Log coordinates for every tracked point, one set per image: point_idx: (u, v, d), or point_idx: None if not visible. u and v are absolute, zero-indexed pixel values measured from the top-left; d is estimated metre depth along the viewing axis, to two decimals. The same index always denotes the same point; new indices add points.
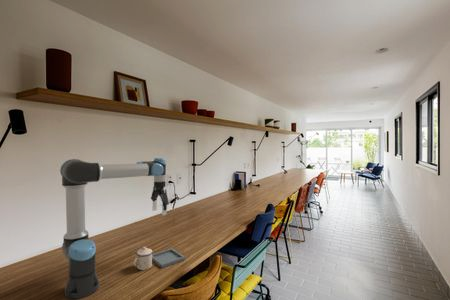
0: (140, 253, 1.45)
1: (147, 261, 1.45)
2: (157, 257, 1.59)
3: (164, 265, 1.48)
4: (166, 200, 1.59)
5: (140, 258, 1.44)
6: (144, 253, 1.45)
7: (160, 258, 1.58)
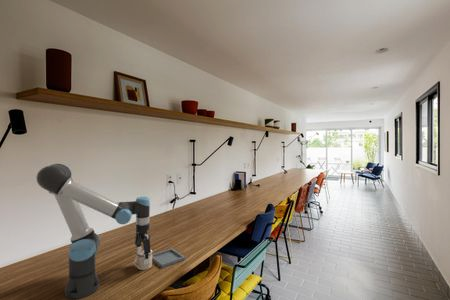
0: (140, 253, 1.45)
1: None
2: (157, 257, 1.59)
3: (164, 265, 1.48)
4: (148, 248, 1.42)
5: (140, 258, 1.44)
6: None
7: (160, 258, 1.58)
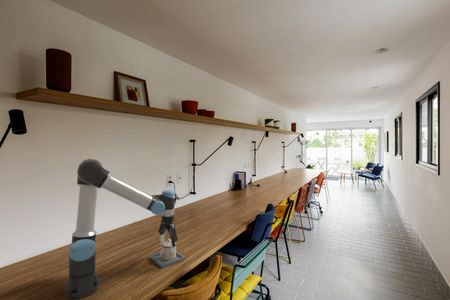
0: (165, 245, 1.56)
1: (172, 252, 1.56)
2: (157, 257, 1.59)
3: (164, 265, 1.48)
4: (175, 236, 1.51)
5: (166, 249, 1.55)
6: (169, 245, 1.56)
7: (160, 258, 1.58)
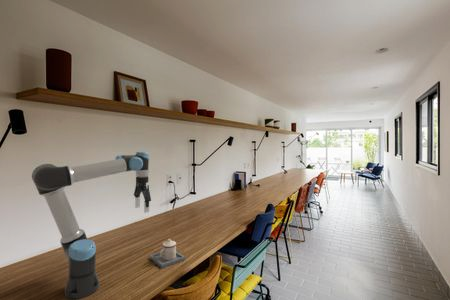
0: (165, 245, 1.56)
1: (172, 252, 1.56)
2: (157, 257, 1.59)
3: (164, 265, 1.48)
4: (148, 196, 1.50)
5: (166, 249, 1.55)
6: (169, 245, 1.56)
7: (160, 258, 1.58)
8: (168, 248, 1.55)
